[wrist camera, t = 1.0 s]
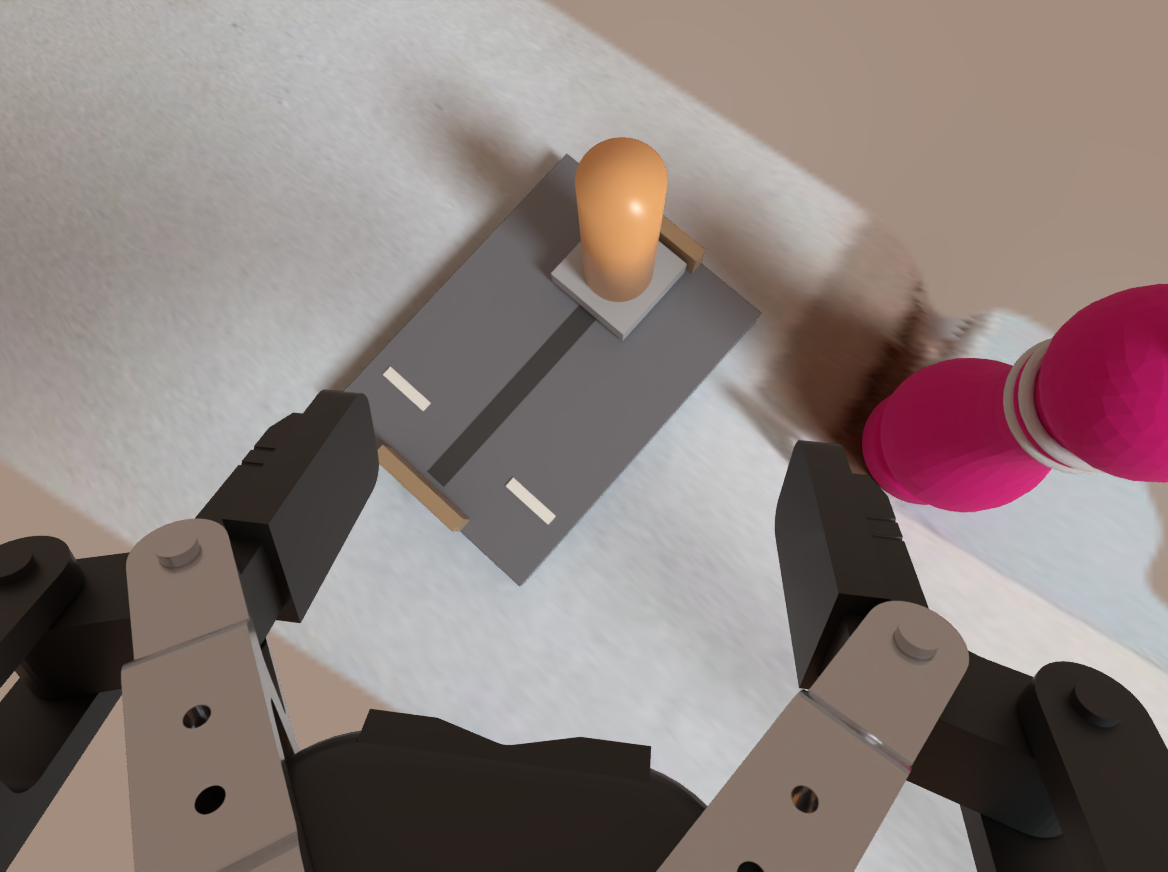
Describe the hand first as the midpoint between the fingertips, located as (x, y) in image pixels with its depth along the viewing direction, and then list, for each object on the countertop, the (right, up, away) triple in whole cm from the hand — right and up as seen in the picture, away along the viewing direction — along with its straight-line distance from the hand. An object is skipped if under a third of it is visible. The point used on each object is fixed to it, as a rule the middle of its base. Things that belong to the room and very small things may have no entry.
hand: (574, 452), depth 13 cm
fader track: (-2, +4, +25) cm, 25 cm away
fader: (+2, +9, +24) cm, 25 cm away
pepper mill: (+18, 0, +24) cm, 30 cm away
